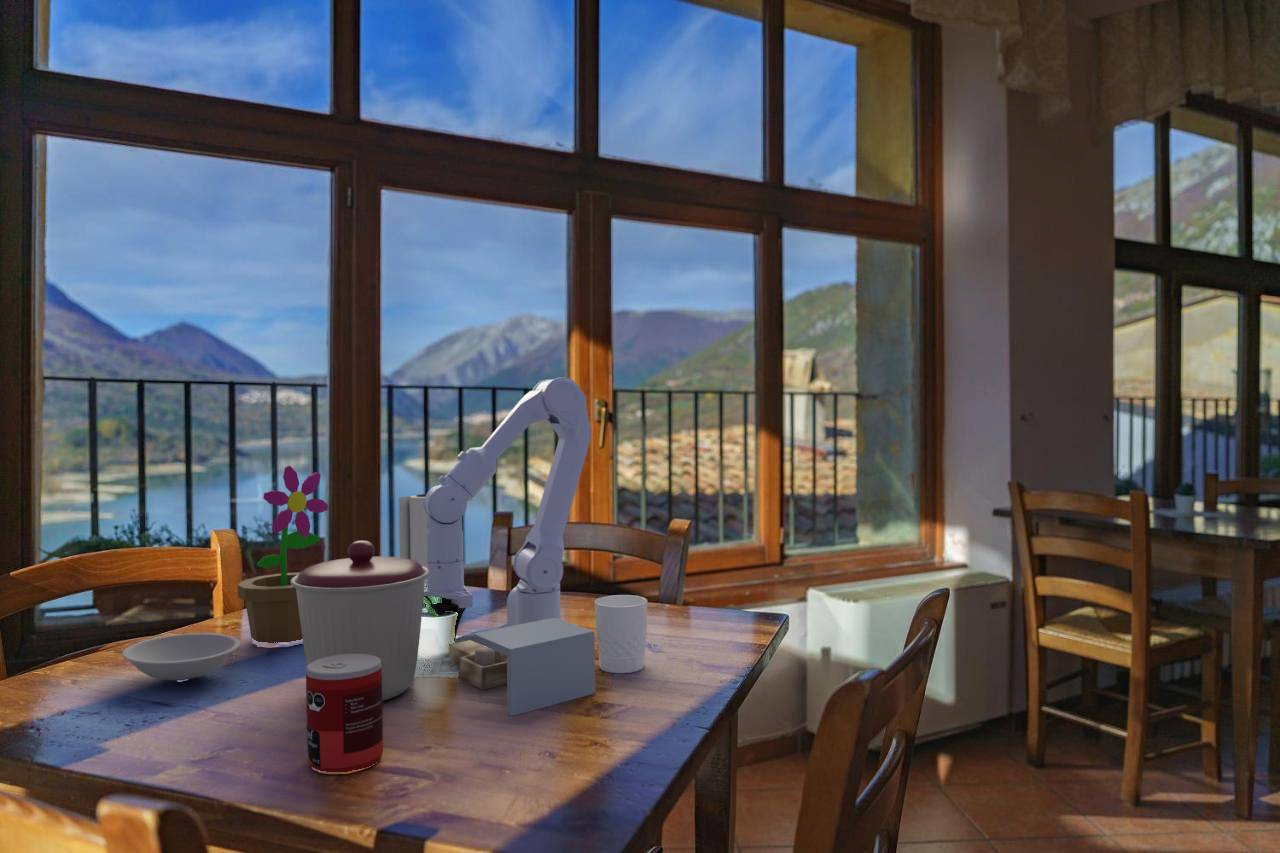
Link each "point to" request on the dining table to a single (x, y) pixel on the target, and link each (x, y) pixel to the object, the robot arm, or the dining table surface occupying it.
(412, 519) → the paper towel roll
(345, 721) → the canned food
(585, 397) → the robot arm
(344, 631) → the canister
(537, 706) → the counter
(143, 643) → the dish
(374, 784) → the dining table surface
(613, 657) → the white cup
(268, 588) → the flowerpot
